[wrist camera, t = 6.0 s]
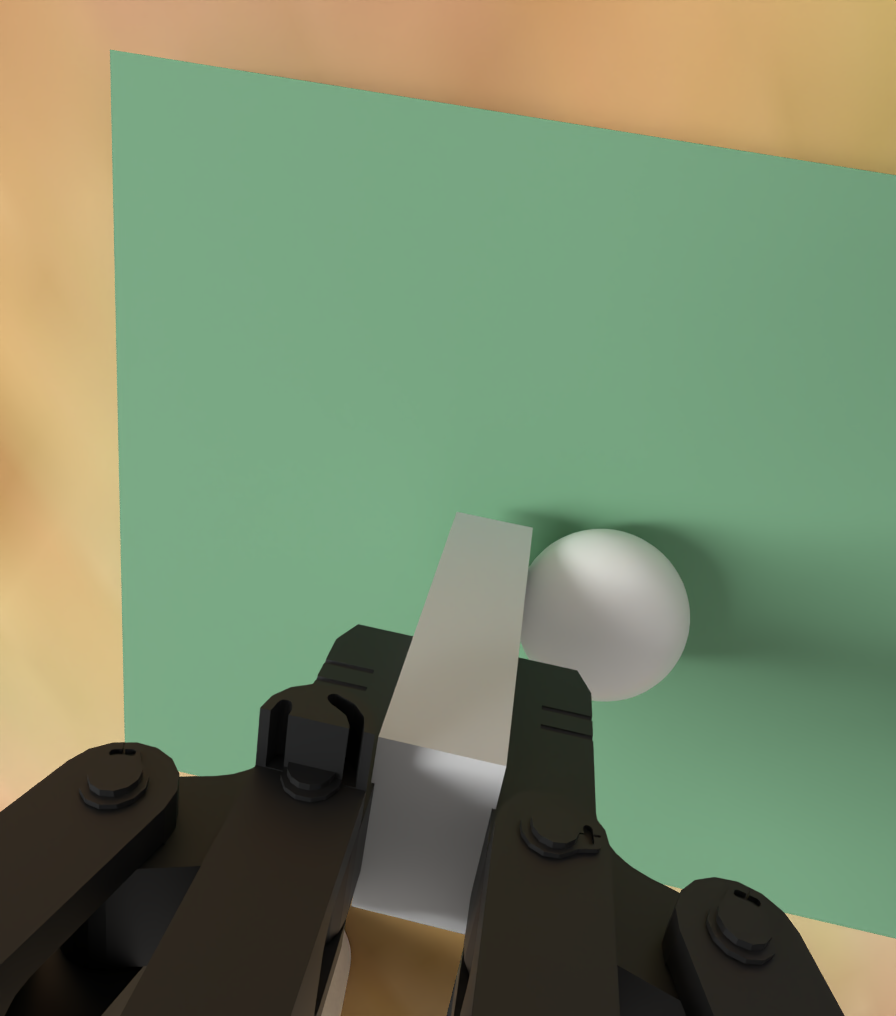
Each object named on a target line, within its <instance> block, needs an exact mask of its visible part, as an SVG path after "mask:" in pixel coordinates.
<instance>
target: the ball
mask: <svg viewBox="0 0 896 1016" xmlns="http://www.w3.org/2000/svg"><path fill="white" fill-rule="evenodd" d="M689 627H690V607H689V601H688V597H687V593H686V590H685V587H684V584H683V582H682V580H681V578H680V576H679V574H678V572H677V571H676V569H675V568H674V566H673V565H672V564H671V562H670V561H669V560H668V559H667V558H666V557H665V556H664V554H662V553H661V552H660V551H659V550H658V549H657V548H655V547H654V546H653V545H651V544H649V543H648V542H646V541H645V540H643V539H641V538H639V537H637V536H635V535H632V534H629V533H626V532H623V531H618V530H613V529H589V530H583V531H579V532H575V533H572V534H570V535H567V536H565V537H562V538H560V539H559V540H557V541H555V542H554V543H552V544H551V545H549V546H548V547H547V548H545V549H544V550H543V551H542V552H541V553H540V554H539V555H538V556H537V557H536V558H535V559H534V561H533V562H532V564H531V565H530V566H529V568H528V575H527V584H526V593H525V602H524V612H523V621H522V630H521V639H520V642H521V644H522V647H523V649H524V652H525V653H526V655H527V657H528V659H529V660H533V661H537V662H542V663H546V664H551V665H555V666H560V667H564V668H569V669H573V670H577V671H578V672H579V674H580V676H581V677H582V679H583V680H584V682H585V684H586V685H587V687H588V689H589V690H590V692H591V696H592V701H605V702H608V701H619V700H624V699H628V698H632V697H635V696H637V695H640V694H642V693H644V692H646V691H647V690H649V689H651V688H652V687H654V686H655V685H657V684H658V683H659V682H660V681H662V680H663V679H664V678H665V677H666V676H667V675H668V674H669V673H670V671H671V670H672V669H673V668H674V666H675V665H676V663H677V662H678V660H679V659H680V657H681V655H682V652H683V650H684V648H685V645H686V641H687V638H688V635H689Z"/></svg>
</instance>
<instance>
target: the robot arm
mask: <svg viewBox="0 0 896 1016" xmlns="http://www.w3.org/2000/svg"><path fill="white" fill-rule="evenodd" d="M532 530H533V528H532V527H527V526H522V525H517V524H512V523H508V522H503V521H498V520H494V519H489V518H484V517H479V516H474V515H470V514H465V513H460V512H456V515H455V518H454V521H453V524H452V527H451V530H450V533H449V535H448V538H447V541H446V544H445V547H444V550H443V553H442V555H441V558H440V561H439V564H438V567H437V570H436V573H435V576H434V578H433V581H432V584H431V587H430V590H429V593H428V596H427V599H426V601H425V604H424V607H423V610H422V613H421V616H420V619H419V622H418V624H417V627H416V630H415V633H414V636H410V635H405V634H401V633H396V632H392V631H387V630H383V629H378V628H374V627H369V626H365V625H360V624H357V625H356V626H355V627H353V628H352V629H350V630H349V631H347V632H346V633H344V634H343V635H341V636H340V637H338V638H337V639H336V640H335V642H334V644H333V646H332V648H331V650H330V652H329V654H328V656H327V658H326V661H325V663H324V664H323V666H322V668H321V670H320V672H319V673H318V675H317V679H316V680H315V681H314V683H313V684H308V685H302V686H295V687H290V688H287V689H285V690H283V691H281V692H279V693H276V694H274V695H272V696H271V697H270V698H269V699H268V700H267V701H266V702H265V703H264V704H263V705H262V706H261V708H260V715H259V727H258V739H257V752H256V764H255V767H253V768H251V769H249V770H245V771H242V772H238V773H235V774H228V775H219V776H190V777H179V772H178V770H177V768H176V765H175V763H174V761H173V759H172V758H171V757H169V756H168V755H167V754H165V753H164V752H162V751H161V750H160V749H158V748H156V747H152V746H149V745H145V744H141V743H138V742H121V743H110V744H106V745H102V746H98V747H94V748H91V749H88V750H86V751H84V752H83V753H81V754H79V755H77V756H75V757H74V758H72V759H70V760H68V761H67V762H66V763H64V764H63V765H62V766H60V767H59V768H58V769H56V770H55V771H54V772H52V773H51V774H50V775H49V776H47V777H46V778H45V779H43V780H42V781H41V782H39V783H38V784H37V785H35V786H34V787H33V788H31V789H30V790H29V791H27V792H26V793H25V794H23V795H22V796H21V797H20V798H18V799H17V800H16V801H14V802H13V803H12V804H10V805H9V806H8V807H6V808H5V809H4V810H2V811H1V812H0V1016H321V1014H322V1011H323V1008H324V1004H325V1001H326V998H327V994H328V991H329V988H330V984H331V981H332V978H333V974H334V971H335V967H336V964H337V961H338V957H339V954H340V951H341V947H342V941H343V935H344V929H345V922H346V917H347V914H348V910H349V907H350V904H351V901H352V906H353V907H357V908H361V909H365V910H369V911H373V912H377V913H381V914H385V915H389V916H393V917H397V918H401V919H405V920H409V921H413V922H417V923H421V924H425V925H429V926H433V927H437V928H441V929H445V930H449V931H453V932H457V933H461V934H465V940H464V948H463V952H462V956H461V960H460V964H459V968H458V972H457V976H456V980H455V984H454V988H453V992H452V996H451V1000H450V1004H449V1008H448V1012H447V1016H844V1014H843V1012H842V1010H841V1008H840V1007H839V1005H838V1003H837V1001H836V999H835V997H834V996H833V994H832V992H831V990H830V988H829V986H828V985H827V983H826V981H825V979H824V977H823V975H822V974H821V972H820V970H819V968H818V966H817V965H816V963H815V961H814V959H813V957H812V955H811V954H810V952H809V950H808V948H807V946H806V944H805V943H804V941H803V939H802V937H801V935H800V933H799V932H798V931H797V929H796V928H795V927H794V925H793V924H792V922H791V921H790V920H789V918H788V917H787V916H786V914H785V913H784V912H783V911H782V910H781V909H780V908H779V907H777V906H776V905H775V904H774V903H773V902H771V901H770V900H769V899H768V898H767V897H765V896H764V895H763V894H762V893H760V892H758V891H756V890H754V889H752V888H750V887H748V886H746V885H744V884H742V883H740V882H737V881H732V880H727V879H723V878H718V877H711V878H704V879H697V880H694V881H693V882H691V883H690V884H689V885H688V886H686V887H685V888H684V889H682V890H681V892H680V893H679V892H677V891H675V890H673V889H671V888H669V887H667V886H665V885H663V884H661V883H659V882H657V881H655V880H653V879H651V878H650V877H648V876H646V875H644V874H643V873H641V872H640V871H638V870H636V869H635V868H633V867H632V866H630V865H629V864H628V863H627V862H625V861H624V860H623V859H622V858H621V857H620V856H619V855H618V854H616V852H615V851H614V850H613V849H612V847H611V846H610V844H609V841H608V838H607V834H606V831H605V829H604V828H603V826H602V825H601V824H600V823H599V821H598V820H597V815H596V798H595V772H594V747H593V741H592V739H593V721H592V696H591V692H590V690H589V689H588V687H587V685H586V684H585V682H584V680H583V679H582V677H581V676H580V674H579V672H578V671H577V670H573V669H569V668H564V667H560V666H555V665H551V664H546V663H542V662H537V661H533V660H528V659H524V658H519V648H520V639H521V630H522V621H523V612H524V602H525V593H526V584H527V575H528V566H529V557H530V548H531V539H532ZM352 897H353V900H352ZM465 932H466V933H465Z"/></svg>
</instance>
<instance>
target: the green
mask: <svg viewBox="0 0 896 1016" xmlns="http://www.w3.org/2000/svg"><path fill="white" fill-rule="evenodd" d="M110 70H111V116H112V163H113V209H114V256H115V303H116V349H117V396H118V443H119V489H120V536H121V583H122V629H123V676H124V722H125V742H138V743H141V744H145V745H149V746H152V747H156V748H158V749H160V750H161V751H162V752H164V753H165V754H167V755H168V756H169V757H171V758H172V759H173V761H174V763H175V765H176V768H177V770H178V771H180V772H184V773H188V774H193V775H197V776H219V775H228V774H235V773H238V772H242V771H245V770H249V769H251V768H253V767H255V764H256V752H257V739H258V727H259V715H260V708H261V706H262V705H263V704H264V703H265V702H266V701H267V700H268V699H269V698H270V697H271V696H272V695H274V694H276V693H279V692H281V691H283V690H285V689H287V688H290V687H295V686H302V685H308V684H313V683H314V681H315V680H316V679H317V675H318V673H319V672H320V670H321V668H322V666H323V664H324V663H325V661H326V658H327V656H328V654H329V652H330V650H331V648H332V646H333V644H334V642H335V640H336V639H337V638H338V637H340V636H341V635H343V634H344V633H346V632H347V631H349V630H350V629H352V628H353V627H355V626H356V625H357V624H360V625H365V626H369V627H374V628H378V629H383V630H387V631H392V632H396V633H401V634H405V635H410V636H414V633H415V630H416V627H417V624H418V622H419V619H420V616H421V613H422V610H423V607H424V604H425V601H426V599H427V596H428V593H429V590H430V587H431V584H432V581H433V578H434V576H435V573H436V570H437V567H438V564H439V561H440V558H441V555H442V553H443V550H444V547H445V544H446V541H447V538H448V535H449V533H450V530H451V527H452V524H453V521H454V518H455V515H456V512H460V513H465V514H470V515H474V516H479V517H484V518H489V519H494V520H498V521H503V522H508V523H512V524H517V525H522V526H527V527H532V528H533V530H532V539H531V548H530V557H529V566H530V565H531V564H532V562H533V561H534V559H535V558H536V557H537V556H538V555H539V554H540V553H541V552H542V551H543V550H544V549H545V548H547V547H548V546H549V545H551V544H552V543H554V542H555V541H557V540H559V539H560V538H562V537H565V536H567V535H570V534H572V533H575V532H579V531H583V530H589V529H613V530H618V531H623V532H626V533H629V534H632V535H635V536H637V537H639V538H641V539H643V540H645V541H646V542H648V543H649V544H651V545H653V546H654V547H655V548H657V549H658V550H659V551H660V552H661V553H662V554H664V556H665V557H666V558H667V559H668V560H669V561H670V562H671V564H672V565H673V566H674V568H675V569H676V571H677V572H678V574H679V576H680V578H681V580H682V582H683V584H684V587H685V590H686V593H687V597H688V601H689V607H690V627H689V635H688V638H687V641H686V645H685V648H684V650H683V652H682V655H681V657H680V659H679V660H678V662H677V663H676V665H675V666H674V668H673V669H672V670H671V671H670V673H669V674H668V675H667V676H666V677H665V678H664V679H663V680H662V681H660V682H659V683H658V684H657V685H655V686H654V687H652V688H651V689H649V690H647V691H646V692H644V693H642V694H640V695H637V696H635V697H632V698H628V699H624V700H619V701H608V702H605V701H592V721H593V739H592V741H593V747H594V772H595V798H596V815H597V820H598V821H599V823H600V824H601V825H602V826H603V828H604V829H605V831H606V834H607V838H608V841H609V844H610V846H611V847H612V849H613V850H614V851H615V852H616V854H618V855H619V856H620V857H621V858H622V859H623V860H624V861H625V862H627V863H628V864H629V865H630V866H632V867H633V868H635V869H636V870H638V871H640V872H641V873H643V874H644V875H646V876H648V877H650V878H651V879H653V880H655V881H657V882H659V883H661V884H664V885H669V886H673V887H677V888H681V889H684V888H685V887H686V886H688V885H689V884H690V883H691V882H693V881H694V880H697V879H704V878H711V877H718V878H723V879H727V880H732V881H737V882H740V883H742V884H744V885H746V886H748V887H750V888H752V889H754V890H756V891H758V892H760V893H762V894H763V895H764V896H765V897H767V898H768V899H769V900H770V901H771V902H773V903H774V904H775V905H776V906H777V907H779V908H780V909H781V910H782V911H783V912H784V913H789V914H793V915H797V916H802V917H806V918H810V919H814V920H819V921H823V922H827V923H832V924H836V925H840V926H844V927H849V928H853V929H857V930H862V931H866V932H870V933H874V934H879V935H883V936H887V937H892V938H896V175H890V174H884V173H878V172H871V171H865V170H859V169H853V168H846V167H840V166H834V165H828V164H821V163H815V162H809V161H803V160H796V159H790V158H784V157H778V156H771V155H765V154H759V153H753V152H746V151H740V150H734V149H728V148H721V147H715V146H709V145H703V144H696V143H690V142H684V141H678V140H671V139H665V138H659V137H653V136H646V135H640V134H634V133H628V132H621V131H615V130H609V129H603V128H596V127H590V126H584V125H578V124H571V123H565V122H559V121H553V120H546V119H540V118H534V117H527V116H521V115H515V114H509V113H502V112H496V111H490V110H484V109H477V108H471V107H465V106H459V105H452V104H446V103H440V102H434V101H427V100H421V99H415V98H409V97H402V96H396V95H390V94H384V93H377V92H371V91H365V90H359V89H352V88H346V87H340V86H334V85H327V84H321V83H315V82H309V81H302V80H296V79H290V78H284V77H277V76H271V75H265V74H259V73H252V72H246V71H240V70H234V69H227V68H221V67H215V66H209V65H202V64H196V63H190V62H184V61H177V60H171V59H165V58H159V57H152V56H146V55H140V54H134V53H127V52H121V51H115V50H110ZM529 566H528V568H529ZM519 658H524V659H528V657H527V655H526V653H525V652H524V649H523V647H522V644H521V642H520V648H519ZM528 660H529V659H528Z"/></svg>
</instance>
